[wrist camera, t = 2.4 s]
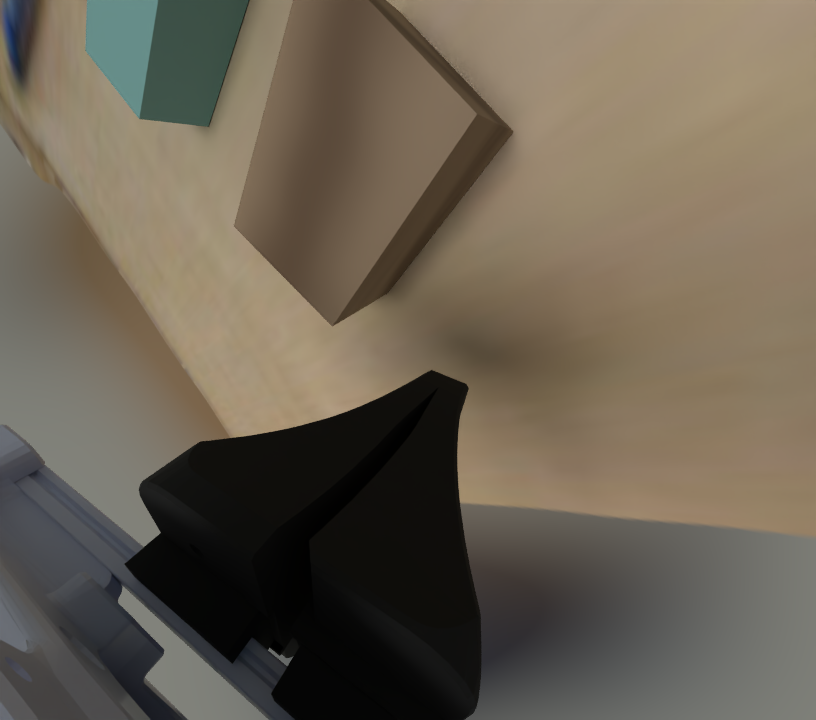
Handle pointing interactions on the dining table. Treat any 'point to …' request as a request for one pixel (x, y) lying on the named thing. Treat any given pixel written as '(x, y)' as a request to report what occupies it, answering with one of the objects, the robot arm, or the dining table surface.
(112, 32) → the teal rectangular bar
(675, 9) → the dining table surface
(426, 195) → the block
